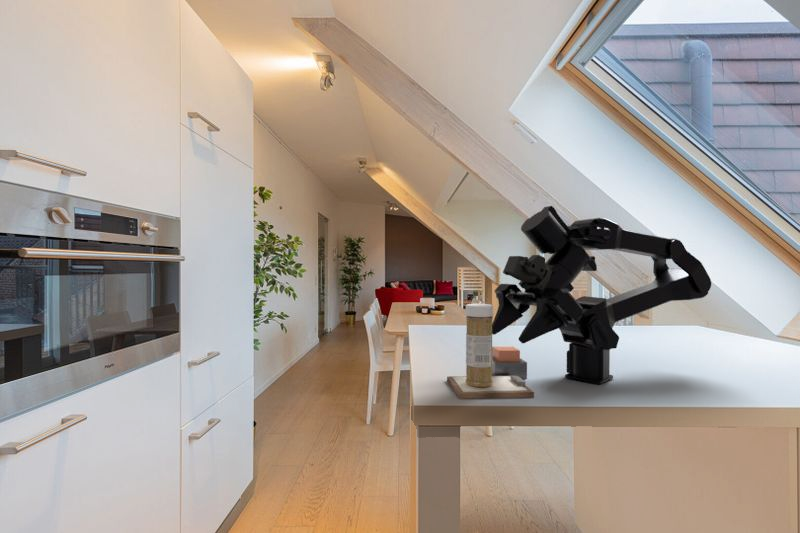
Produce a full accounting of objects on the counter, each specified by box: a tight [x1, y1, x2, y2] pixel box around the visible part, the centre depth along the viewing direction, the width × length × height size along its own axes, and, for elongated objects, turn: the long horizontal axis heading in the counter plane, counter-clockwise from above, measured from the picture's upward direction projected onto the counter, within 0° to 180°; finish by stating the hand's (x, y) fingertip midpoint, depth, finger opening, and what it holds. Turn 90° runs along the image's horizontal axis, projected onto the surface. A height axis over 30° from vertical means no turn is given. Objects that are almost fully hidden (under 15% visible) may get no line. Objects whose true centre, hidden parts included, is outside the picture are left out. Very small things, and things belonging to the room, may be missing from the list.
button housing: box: [492, 357, 528, 380], centre depth 85 cm, size 6×6×3 cm
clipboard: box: [446, 375, 535, 400], centre depth 76 cm, size 12×10×2 cm
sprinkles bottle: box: [465, 302, 494, 387], centre depth 75 cm, size 5×5×14 cm
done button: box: [493, 345, 521, 362], centre depth 85 cm, size 4×4×3 cm
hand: (505, 337), depth 77 cm, fingers open, 9 cm apart
